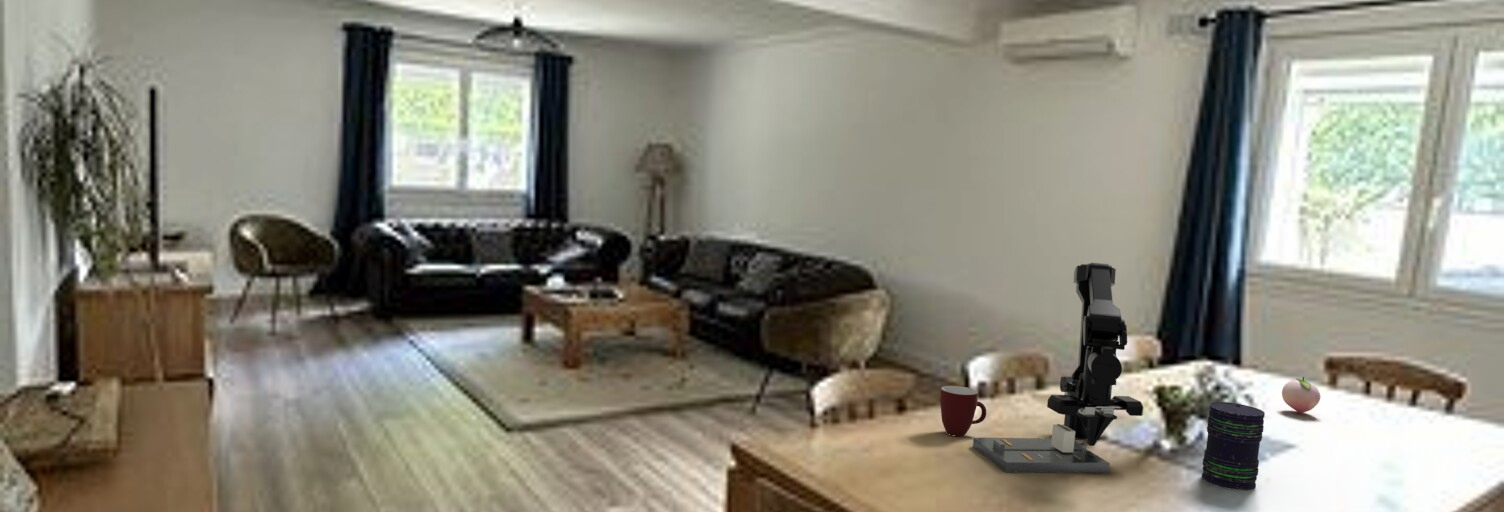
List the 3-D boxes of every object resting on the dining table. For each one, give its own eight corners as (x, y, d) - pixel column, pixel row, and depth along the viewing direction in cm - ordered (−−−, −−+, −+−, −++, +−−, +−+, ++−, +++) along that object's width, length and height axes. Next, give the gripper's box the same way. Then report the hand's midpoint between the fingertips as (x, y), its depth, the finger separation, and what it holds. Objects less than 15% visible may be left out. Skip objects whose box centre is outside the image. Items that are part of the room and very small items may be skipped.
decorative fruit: (1273, 407, 248) (1278, 371, 247) (1306, 410, 247) (1310, 374, 246) (1289, 416, 239) (1293, 379, 238) (1322, 419, 238) (1327, 382, 237)
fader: (1061, 445, 192) (1063, 423, 192) (1073, 452, 187) (1075, 430, 187) (1051, 444, 192) (1053, 423, 191) (1062, 452, 187) (1064, 430, 186)
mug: (973, 428, 209) (977, 385, 208) (991, 439, 201) (995, 394, 200) (931, 429, 206) (934, 385, 205) (947, 440, 199) (951, 395, 198)
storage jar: (1254, 494, 175) (1264, 418, 174) (1198, 482, 180) (1206, 408, 179) (1257, 481, 184) (1266, 408, 182) (1203, 469, 189) (1212, 399, 187)
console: (1068, 447, 199) (1069, 431, 198) (1108, 472, 183) (1110, 455, 183) (972, 446, 195) (974, 430, 194) (1005, 472, 179) (1007, 454, 179)
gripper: (1118, 364, 198) (1110, 434, 200) (1038, 362, 195) (1031, 433, 197) (1148, 376, 188) (1140, 450, 189) (1064, 374, 184) (1056, 449, 186)
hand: (1091, 445), depth 191 cm, fingers closed
